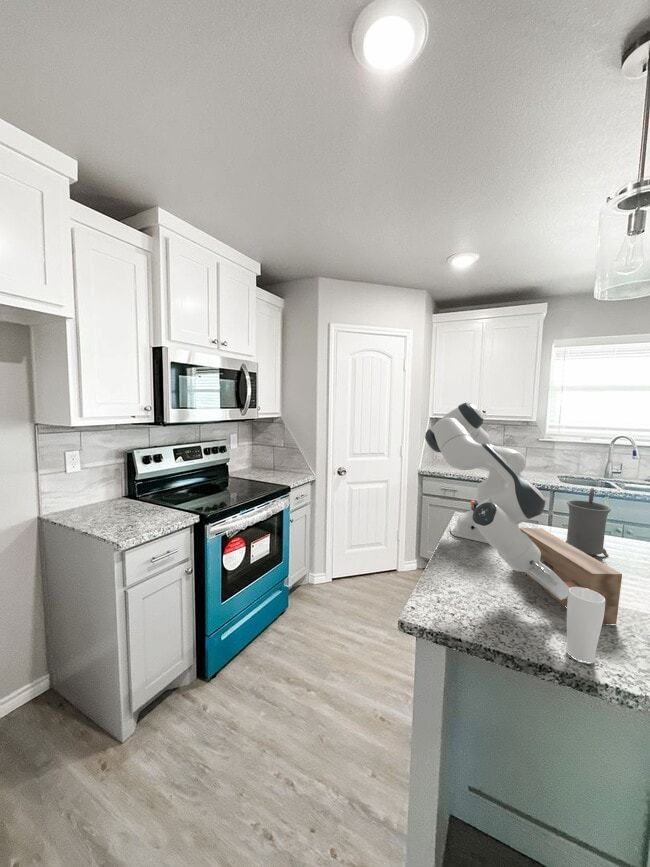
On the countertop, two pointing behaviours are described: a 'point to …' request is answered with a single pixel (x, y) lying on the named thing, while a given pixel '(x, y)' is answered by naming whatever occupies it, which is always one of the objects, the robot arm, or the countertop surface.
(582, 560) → the console
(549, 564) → the charcoal key
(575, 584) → the terracotta key
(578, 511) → the grey footed pot
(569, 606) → the drinking glass
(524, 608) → the countertop surface
